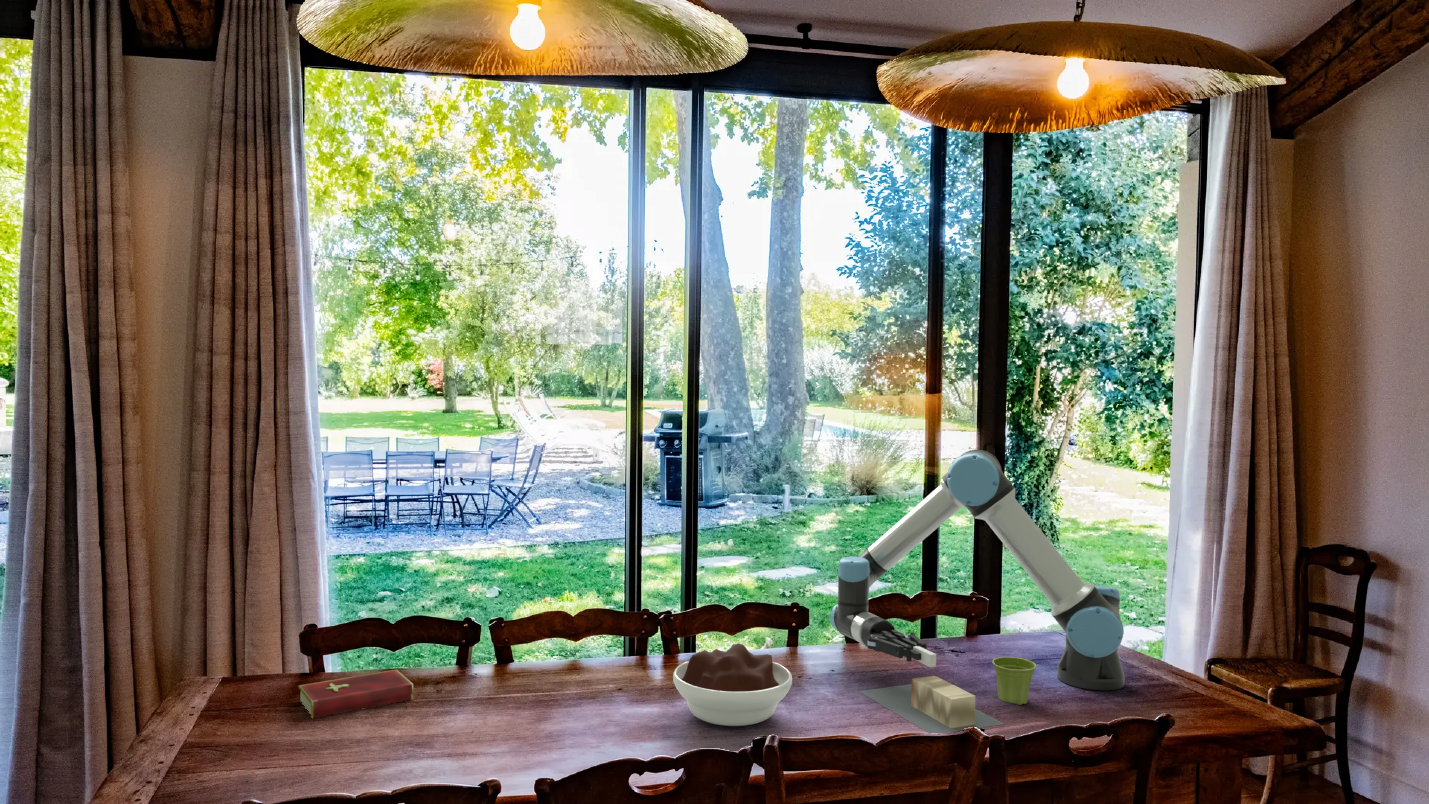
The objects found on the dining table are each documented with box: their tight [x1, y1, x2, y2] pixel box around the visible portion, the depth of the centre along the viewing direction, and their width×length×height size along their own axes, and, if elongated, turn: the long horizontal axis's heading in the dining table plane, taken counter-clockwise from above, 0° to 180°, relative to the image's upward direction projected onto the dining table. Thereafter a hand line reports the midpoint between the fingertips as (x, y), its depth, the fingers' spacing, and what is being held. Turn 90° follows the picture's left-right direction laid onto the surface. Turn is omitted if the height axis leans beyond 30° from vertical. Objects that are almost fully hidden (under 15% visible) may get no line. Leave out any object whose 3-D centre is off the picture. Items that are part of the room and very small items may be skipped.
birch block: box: [911, 675, 976, 728], centre depth 207 cm, size 6×6×14 cm
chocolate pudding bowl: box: [672, 643, 793, 727], centre depth 205 cm, size 25×25×15 cm
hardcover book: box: [298, 668, 415, 719], centre depth 210 cm, size 12×21×4 cm, turn 125°
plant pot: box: [991, 656, 1037, 706], centre depth 219 cm, size 9×9×9 cm
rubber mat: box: [858, 683, 1005, 734], centre depth 212 cm, size 28×18×1 cm, turn 23°
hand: (933, 660), depth 210 cm, fingers closed
